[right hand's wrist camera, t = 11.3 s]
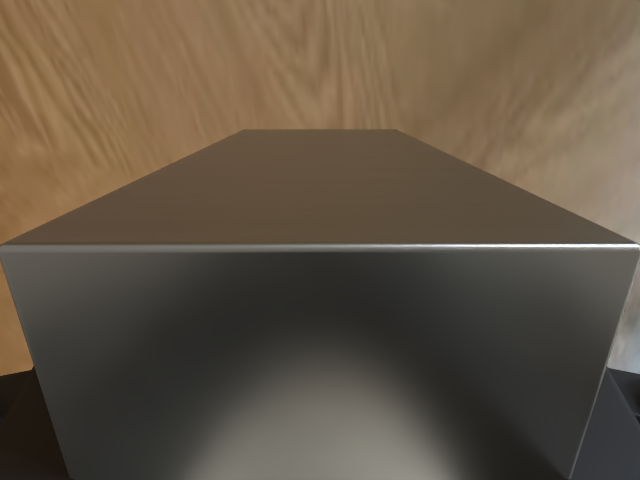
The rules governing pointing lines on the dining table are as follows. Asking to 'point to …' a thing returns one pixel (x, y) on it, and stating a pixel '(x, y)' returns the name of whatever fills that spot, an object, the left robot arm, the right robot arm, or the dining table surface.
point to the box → (320, 317)
